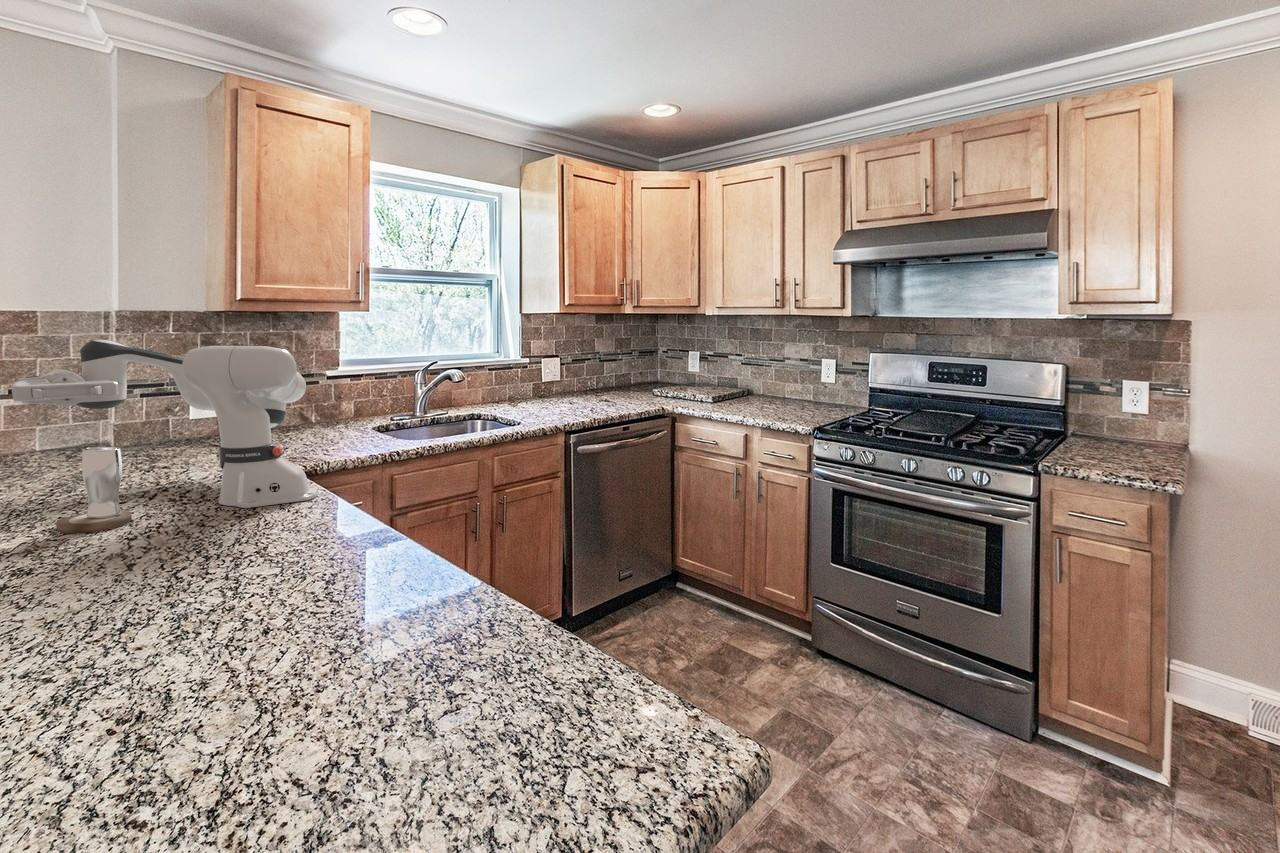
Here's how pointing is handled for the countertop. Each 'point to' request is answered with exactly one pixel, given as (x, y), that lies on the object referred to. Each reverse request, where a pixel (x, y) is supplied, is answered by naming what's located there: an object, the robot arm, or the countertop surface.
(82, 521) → the walnut board
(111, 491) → the beer glass
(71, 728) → the countertop surface
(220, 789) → the countertop surface
